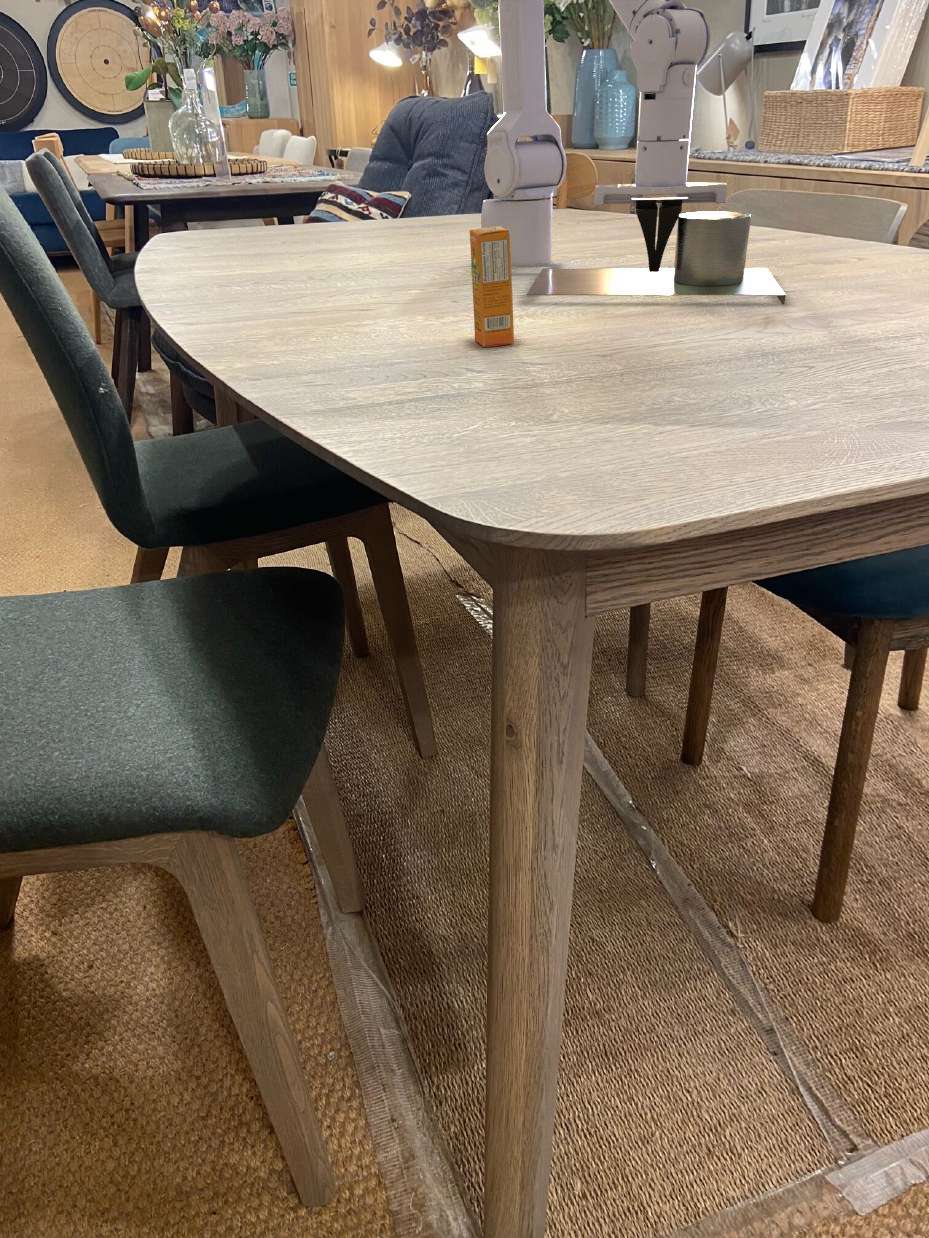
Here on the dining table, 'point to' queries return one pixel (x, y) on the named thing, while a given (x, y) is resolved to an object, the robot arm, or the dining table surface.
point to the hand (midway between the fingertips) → (654, 271)
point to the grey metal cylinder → (711, 248)
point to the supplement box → (492, 286)
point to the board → (645, 283)
